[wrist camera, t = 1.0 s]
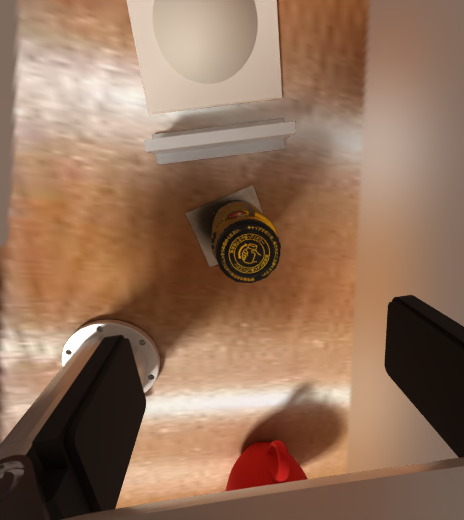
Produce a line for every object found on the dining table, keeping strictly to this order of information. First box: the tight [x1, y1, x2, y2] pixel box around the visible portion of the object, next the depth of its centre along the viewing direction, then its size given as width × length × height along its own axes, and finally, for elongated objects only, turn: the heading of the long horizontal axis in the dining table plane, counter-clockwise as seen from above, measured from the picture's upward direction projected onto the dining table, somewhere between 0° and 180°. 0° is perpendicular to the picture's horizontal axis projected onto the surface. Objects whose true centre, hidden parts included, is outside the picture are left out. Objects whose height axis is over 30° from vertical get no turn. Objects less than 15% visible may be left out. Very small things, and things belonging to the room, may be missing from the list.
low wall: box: [144, 118, 296, 165], centre depth 28 cm, size 3×14×5 cm, turn 97°
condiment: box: [185, 185, 281, 283], centre depth 27 cm, size 7×8×12 cm
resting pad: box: [127, 0, 282, 115], centre depth 26 cm, size 14×14×1 cm
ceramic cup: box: [226, 440, 307, 491], centre depth 39 cm, size 13×17×10 cm
